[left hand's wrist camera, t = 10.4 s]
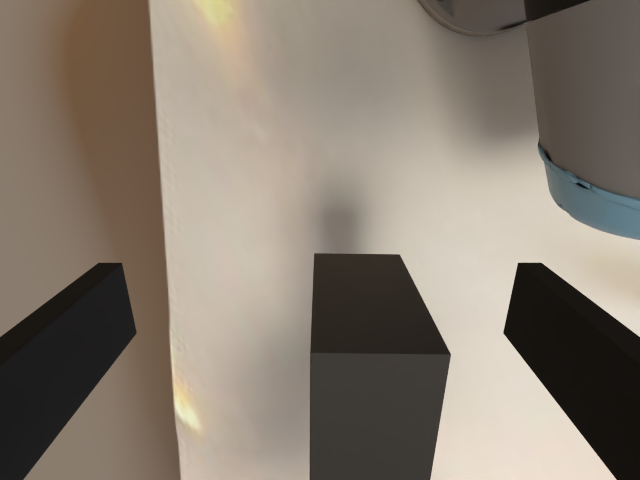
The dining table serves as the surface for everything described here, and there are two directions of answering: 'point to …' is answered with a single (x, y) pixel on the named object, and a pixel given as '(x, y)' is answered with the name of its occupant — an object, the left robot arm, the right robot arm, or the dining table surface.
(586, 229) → the dining table surface
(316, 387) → the box
